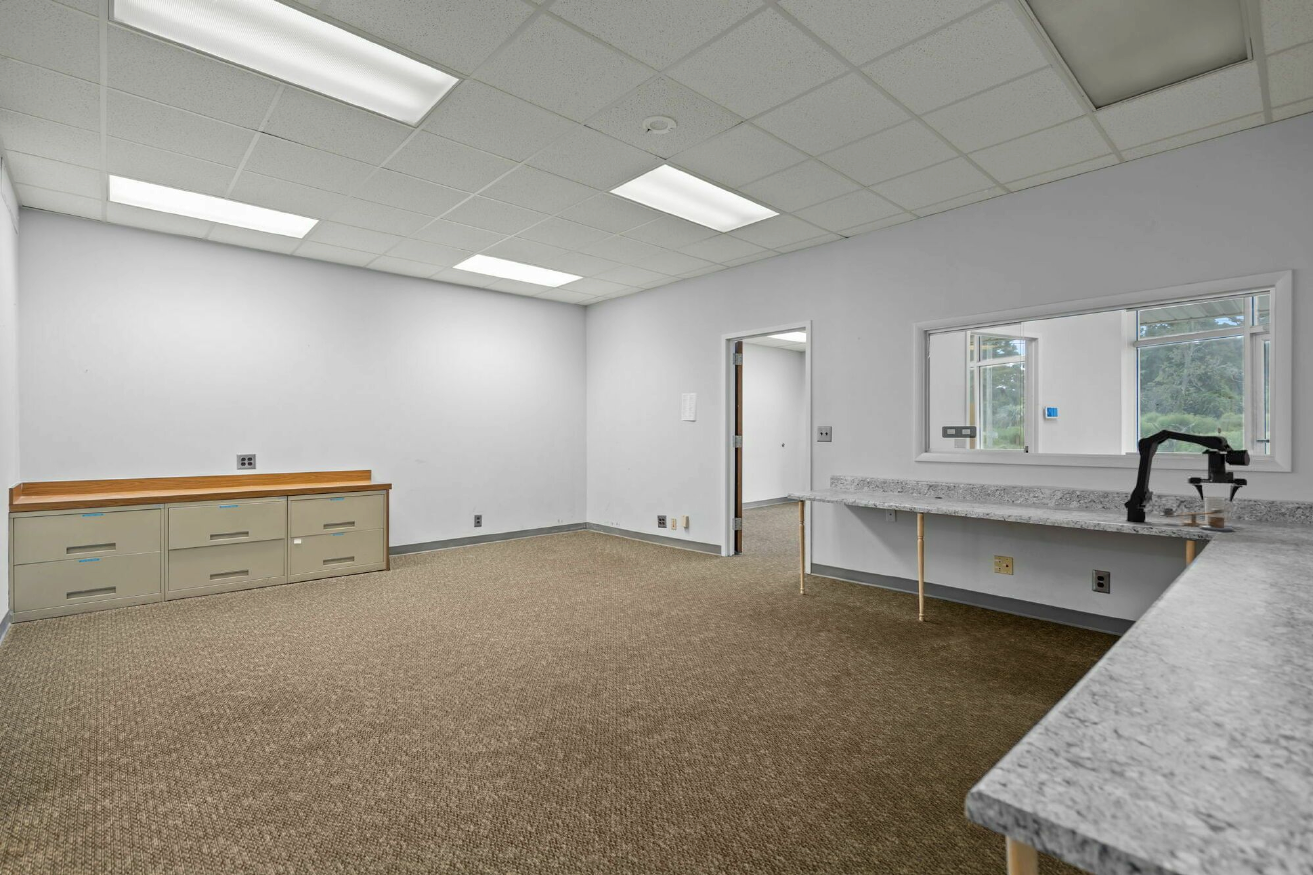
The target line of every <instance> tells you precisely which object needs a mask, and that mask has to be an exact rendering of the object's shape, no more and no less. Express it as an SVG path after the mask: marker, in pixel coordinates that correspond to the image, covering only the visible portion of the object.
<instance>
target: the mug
mask: <svg viewBox="0 0 1313 875" xmlns="http://www.w3.org/2000/svg"><path fill="white" fill-rule="evenodd" d="M1225 506H1228V507H1229V508H1230V511H1229V514H1228V515H1225V512H1223V513H1217V514H1204V518H1205V519H1204V521H1205V522H1204V523H1205V524H1206V525H1208V516H1222V517H1224V521H1226V520H1230V519H1232V518H1233V515H1234V513H1235V507H1234V505H1233V503H1232V502H1230V501H1225V498H1222V497H1221V498H1220V497H1205V498H1204V512H1214V511H1211V509H1225Z"/></svg>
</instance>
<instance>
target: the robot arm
mask: <svg viewBox="0 0 1313 875" xmlns="http://www.w3.org/2000/svg"><path fill="white" fill-rule="evenodd" d="M1168 440H1175V441H1180V442H1186V443H1191V444H1195V445H1196V444H1197V445H1199V446H1201V447H1204V448H1206V449H1205V450H1204V451H1203V452H1201V455H1207V478H1202V477H1200V476H1189V477H1187V484H1189V485H1192V486H1193V487H1194V488H1195V489H1196V491H1197V493H1198V494H1199V497H1200V500H1201V501H1204V492H1203V483H1204V484H1205V483H1206V484H1230V489H1229V490H1230V491H1229V502H1231V503H1232V502H1233V499H1234V497H1235V494H1236V493H1237V491H1238V490H1239V489H1240V488H1243V486H1248V480H1247V479H1246V478H1241V477H1234V476H1235V475H1234V474H1235V473H1234V471H1226V463H1227V464H1228V465H1229V466H1232V467H1233V466H1235V467H1236V466H1237V467H1238V466H1239V467H1248V466H1249V465H1250V463H1251V457H1250V454H1249V450H1248V449H1233V448H1232V447H1231V445H1229V443H1228V440H1227V438H1226V437H1225V436H1220V435H1200V434H1195V433H1194V434H1193V433H1189V432H1188V433H1187V432H1181V431H1175V430H1172V429H1162V430H1161V431H1159V432H1156V433H1154V434H1152V435H1149V436H1148V437H1142V438H1141V439H1139V440H1138V442H1137V450H1138V453H1139V464H1138V469H1137V470H1138V471H1137V477H1136V478H1137V479H1136V485H1135V486H1134V489H1133V490H1132V492H1131V494H1130V498H1129V499H1128V500H1127V501H1125V502H1124V503H1123V505H1124V508H1125V509H1126V521H1127V522H1136V523H1137V522H1140V523H1145V521H1146V511H1145V508H1146V507H1147V505H1149V504H1150V502H1151V501H1153V494H1154V491H1151V490H1150V487H1149V486H1150V485H1149V484H1150V478H1151V477H1150V476H1151V471H1152V464H1153V458H1154V456H1155V454H1157V451H1158V448H1159V446H1160V445H1162V444H1163V443H1165V442H1166V441H1168Z"/></svg>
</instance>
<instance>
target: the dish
mask: <svg viewBox="0 0 1313 875" xmlns="http://www.w3.org/2000/svg"><path fill="white" fill-rule="evenodd" d="M1199 528H1201V529H1202V530H1205V531H1214V532H1230V531H1234V529H1235V528H1234V527H1231V526H1226V525H1224V528H1216V527H1209V526H1208V524H1206V525H1200V526H1199Z"/></svg>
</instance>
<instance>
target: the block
mask: <svg viewBox="0 0 1313 875" xmlns="http://www.w3.org/2000/svg"><path fill="white" fill-rule="evenodd" d="M1207 525H1208V526H1209V527H1216V528H1224V526H1225V520H1224V517H1222V516H1208V524H1207Z"/></svg>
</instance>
